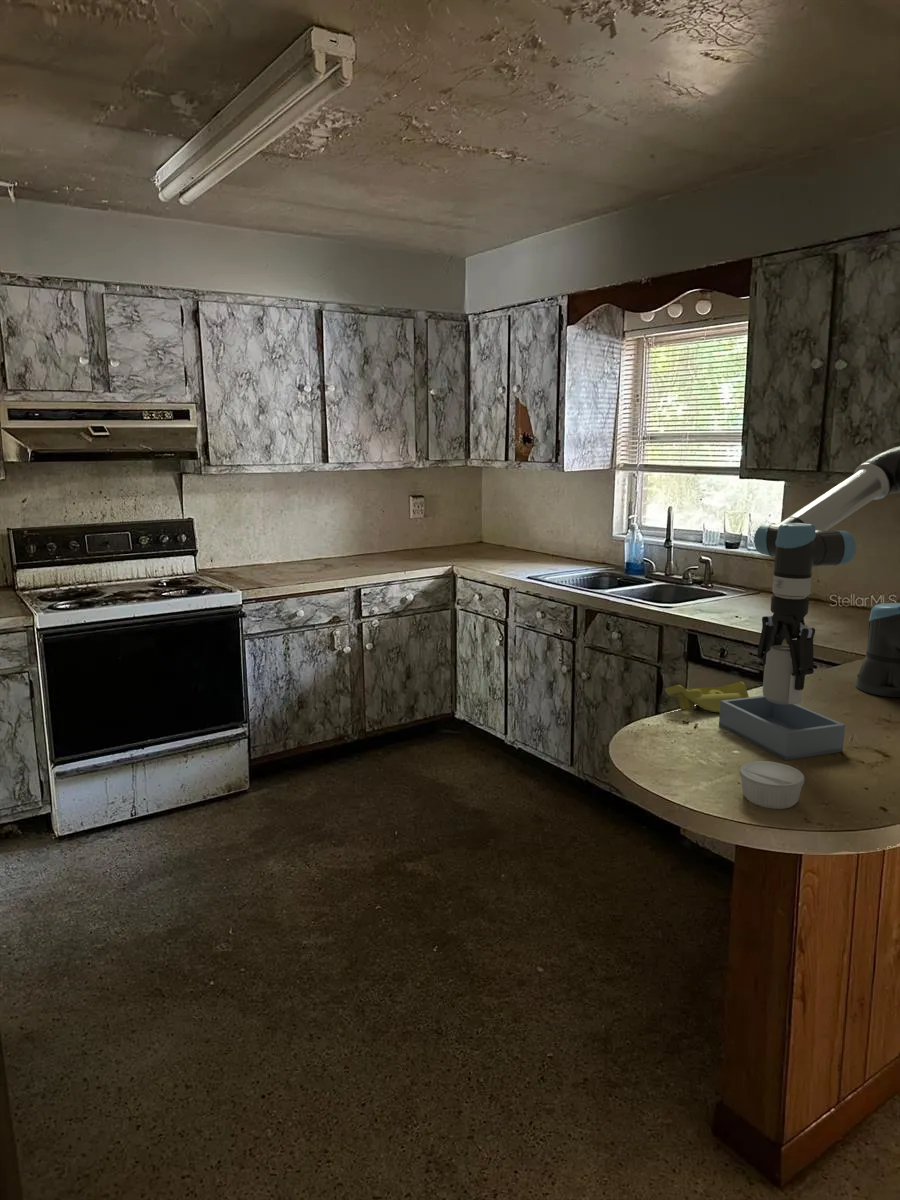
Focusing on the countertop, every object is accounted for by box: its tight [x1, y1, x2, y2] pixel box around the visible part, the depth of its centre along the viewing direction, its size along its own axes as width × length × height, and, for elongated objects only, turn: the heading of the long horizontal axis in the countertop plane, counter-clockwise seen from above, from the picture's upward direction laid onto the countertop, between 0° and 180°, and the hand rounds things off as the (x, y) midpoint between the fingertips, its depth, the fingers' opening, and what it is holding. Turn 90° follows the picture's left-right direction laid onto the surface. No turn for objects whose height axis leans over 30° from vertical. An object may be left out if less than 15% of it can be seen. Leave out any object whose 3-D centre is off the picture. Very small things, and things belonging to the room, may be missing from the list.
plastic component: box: [664, 681, 750, 714], centre depth 206 cm, size 20×7×10 cm
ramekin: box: [739, 760, 805, 810], centre depth 155 cm, size 11×11×5 cm
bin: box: [718, 695, 846, 761], centre depth 186 cm, size 15×22×6 cm
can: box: [762, 644, 800, 705], centre depth 183 cm, size 8×8×12 cm
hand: (781, 697), depth 184 cm, fingers closed on can, 7 cm apart
